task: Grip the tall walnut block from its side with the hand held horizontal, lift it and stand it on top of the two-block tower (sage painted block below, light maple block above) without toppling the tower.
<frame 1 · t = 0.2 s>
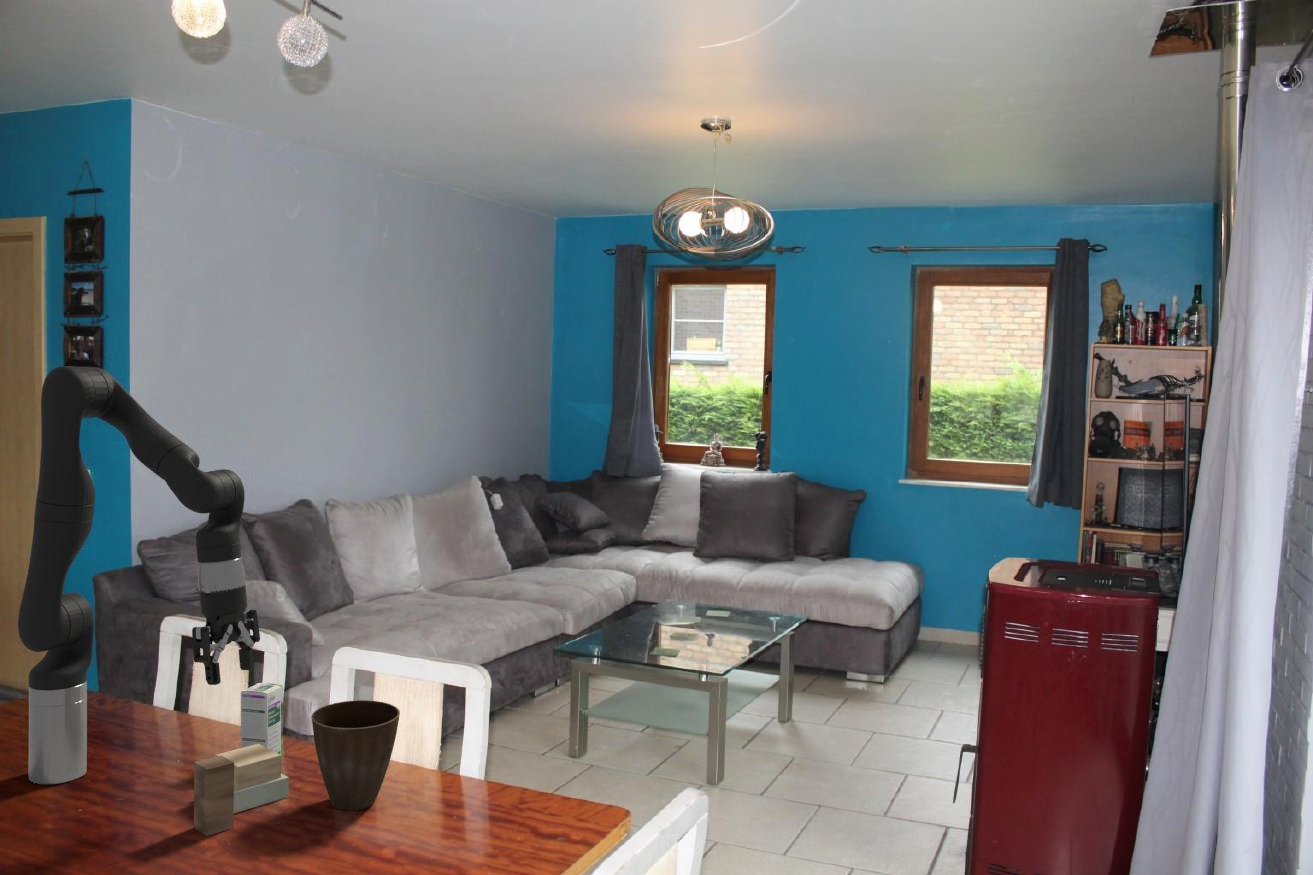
hand: (230, 676, 180), 22 cm above the table, tool pointing down, fingers open, 8 cm apart
tower top: (248, 776, 183), point 4 cm above the table, touching tower base
syrup box: (261, 761, 200), on the table
walnut block: (213, 827, 171), on the table
plant pot: (354, 803, 183), on the table
tower base: (247, 798, 183), on the table, touching tower top
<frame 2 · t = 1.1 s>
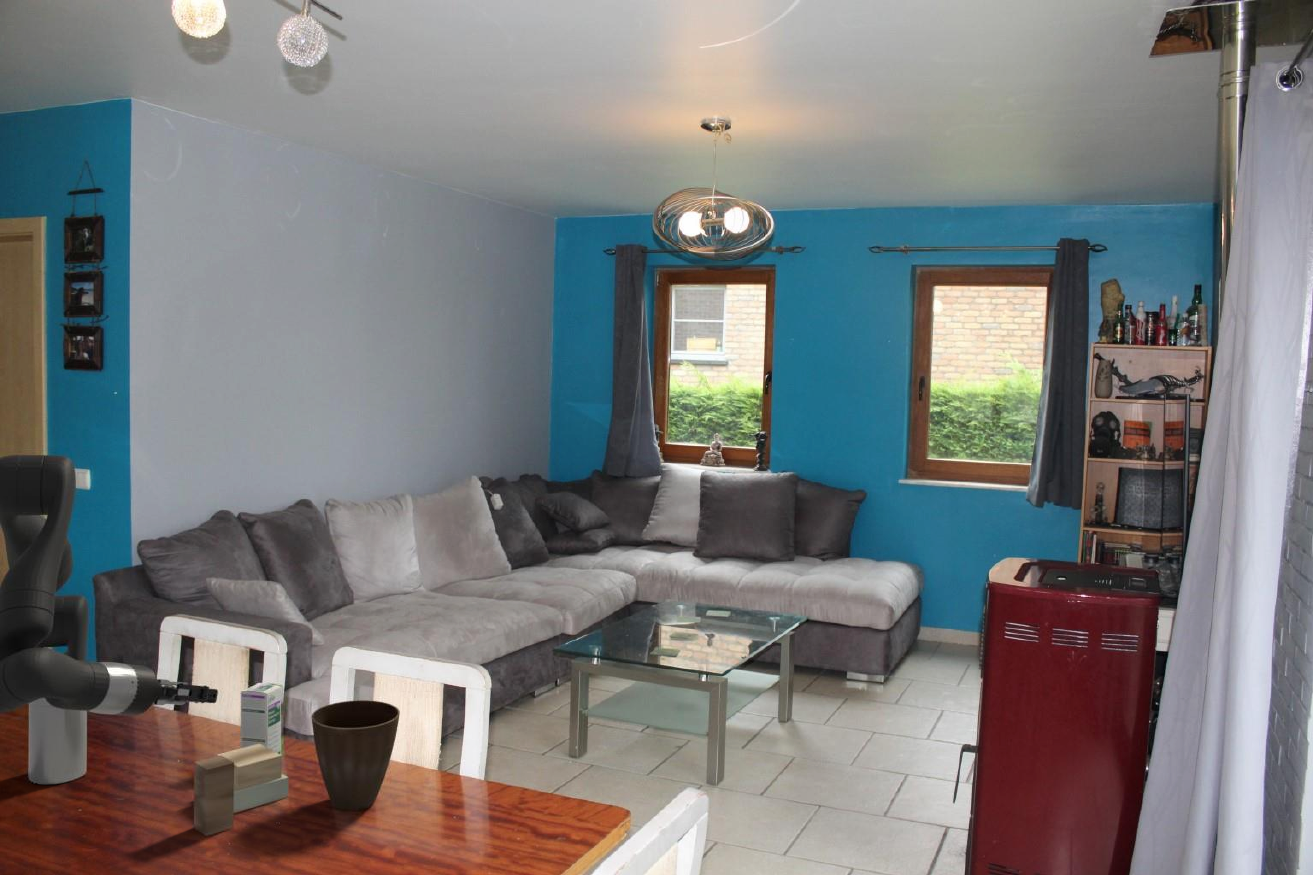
hand: (195, 695, 171), 21 cm above the table, tool tilted 70°, fingers open, 8 cm apart
tower top: (249, 776, 183), point 4 cm above the table
tower base: (247, 798, 183), on the table
everything else where it was.
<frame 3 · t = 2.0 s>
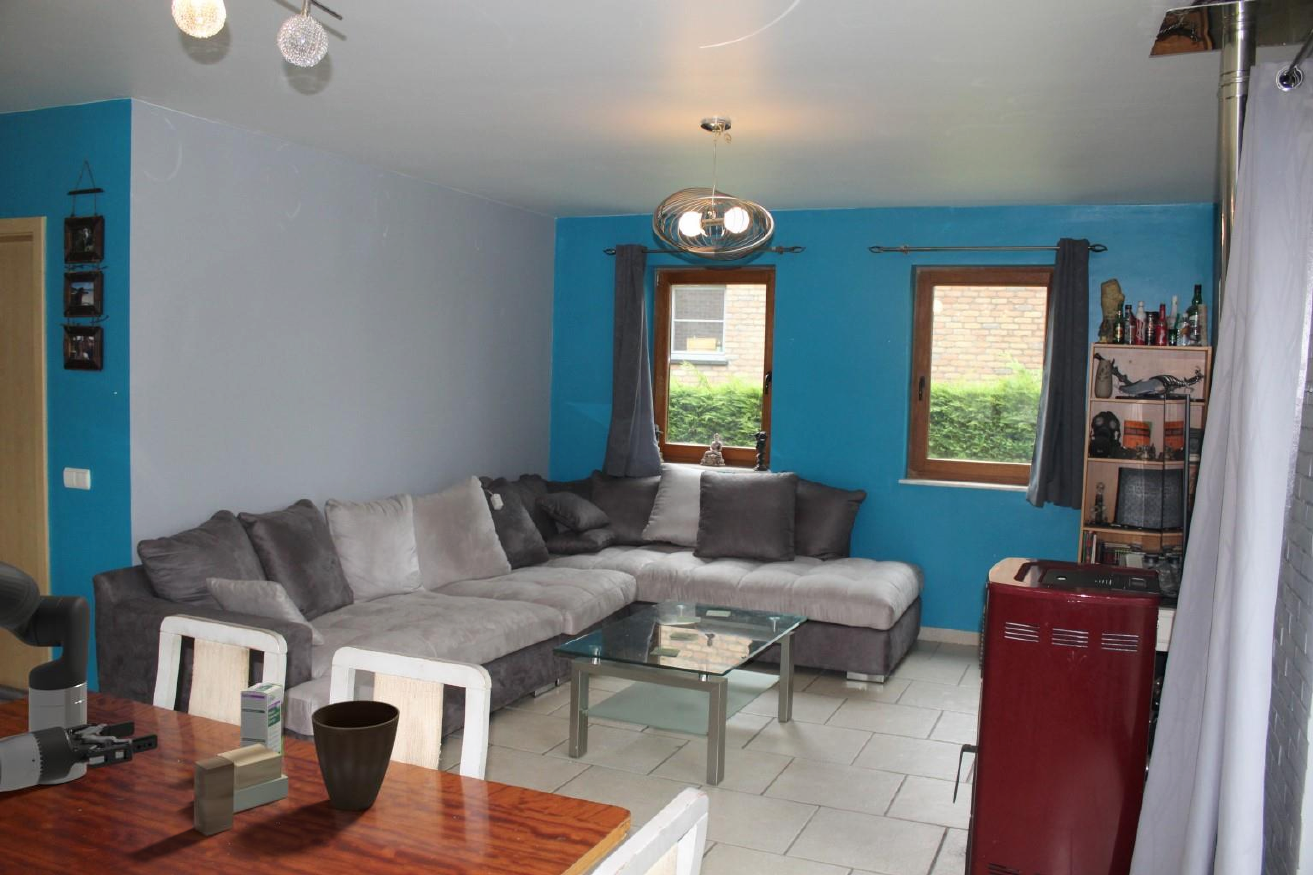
hand: (144, 733, 161), 18 cm above the table, tool horizontal, fingers open, 8 cm apart
tower top: (248, 776, 183), point 4 cm above the table, touching tower base
tower base: (247, 798, 183), on the table, touching tower top
everything else where it was.
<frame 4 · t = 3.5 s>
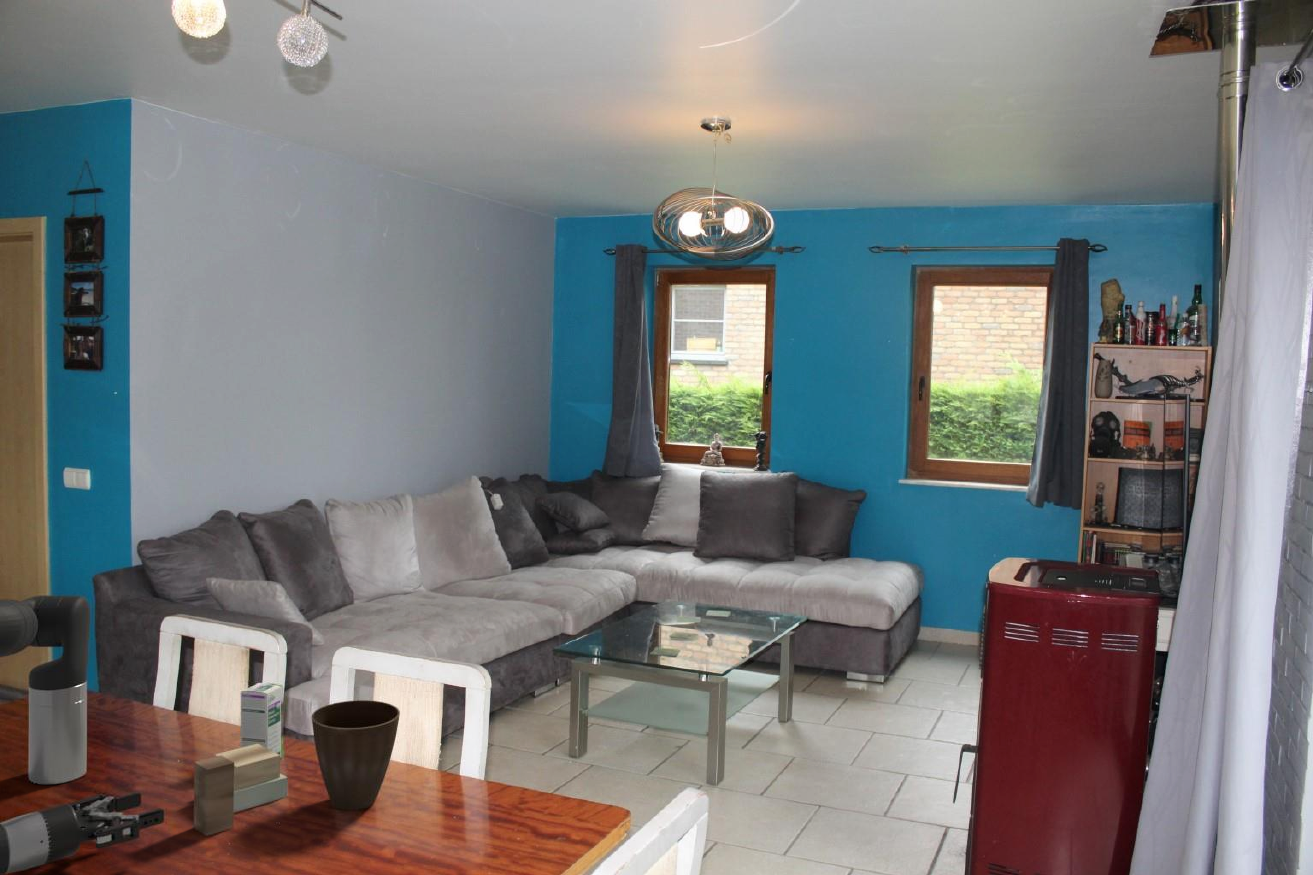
hand: (151, 806, 163), 6 cm above the table, tool horizontal, fingers open, 8 cm apart
tower top: (247, 776, 183), point 4 cm above the table
tower base: (246, 798, 183), on the table
everything else where it was.
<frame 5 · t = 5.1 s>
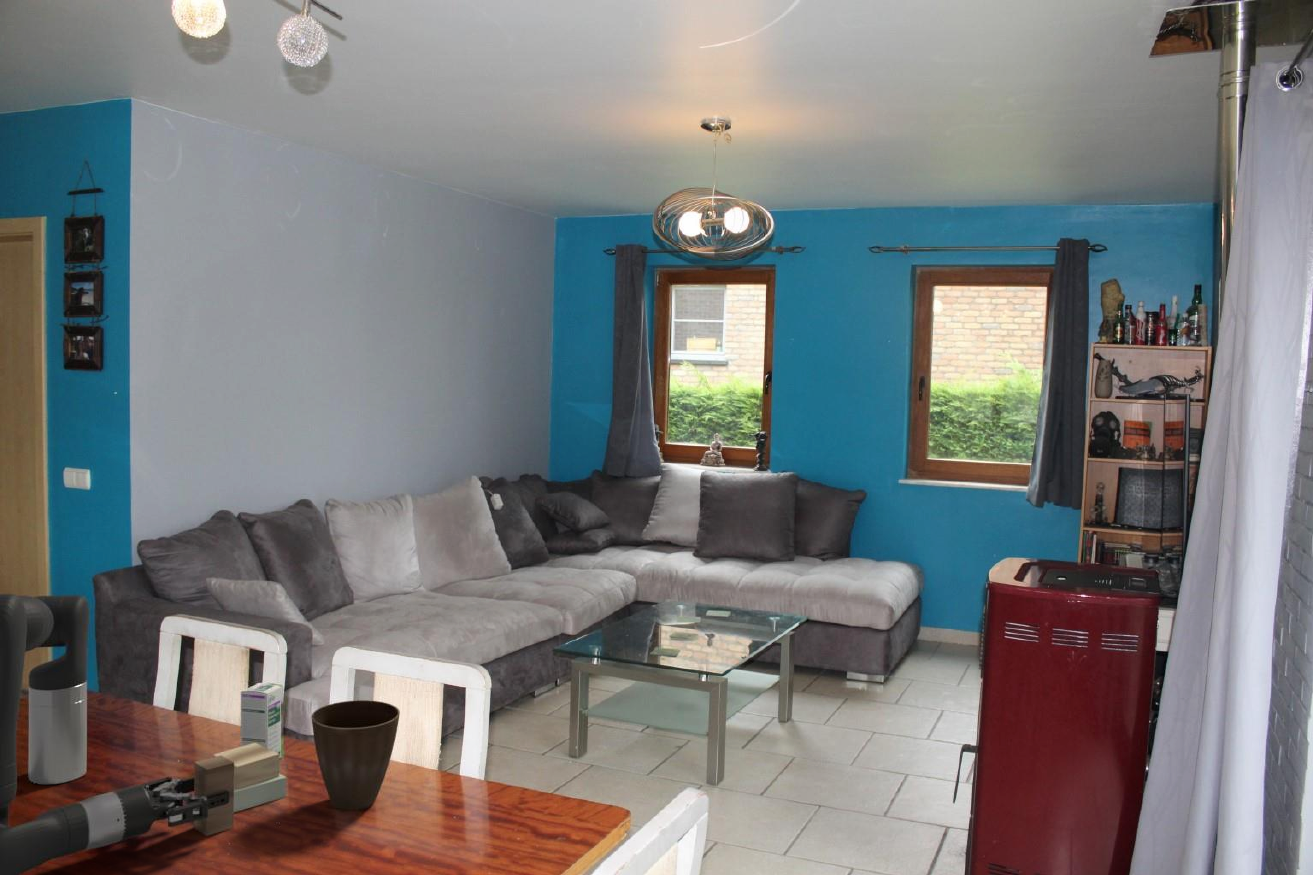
hand: (216, 788, 170), 7 cm above the table, tool horizontal, fingers open, 8 cm apart
tower top: (246, 776, 183), point 4 cm above the table, touching tower base
tower base: (245, 798, 183), on the table, touching tower top
everything else where it was.
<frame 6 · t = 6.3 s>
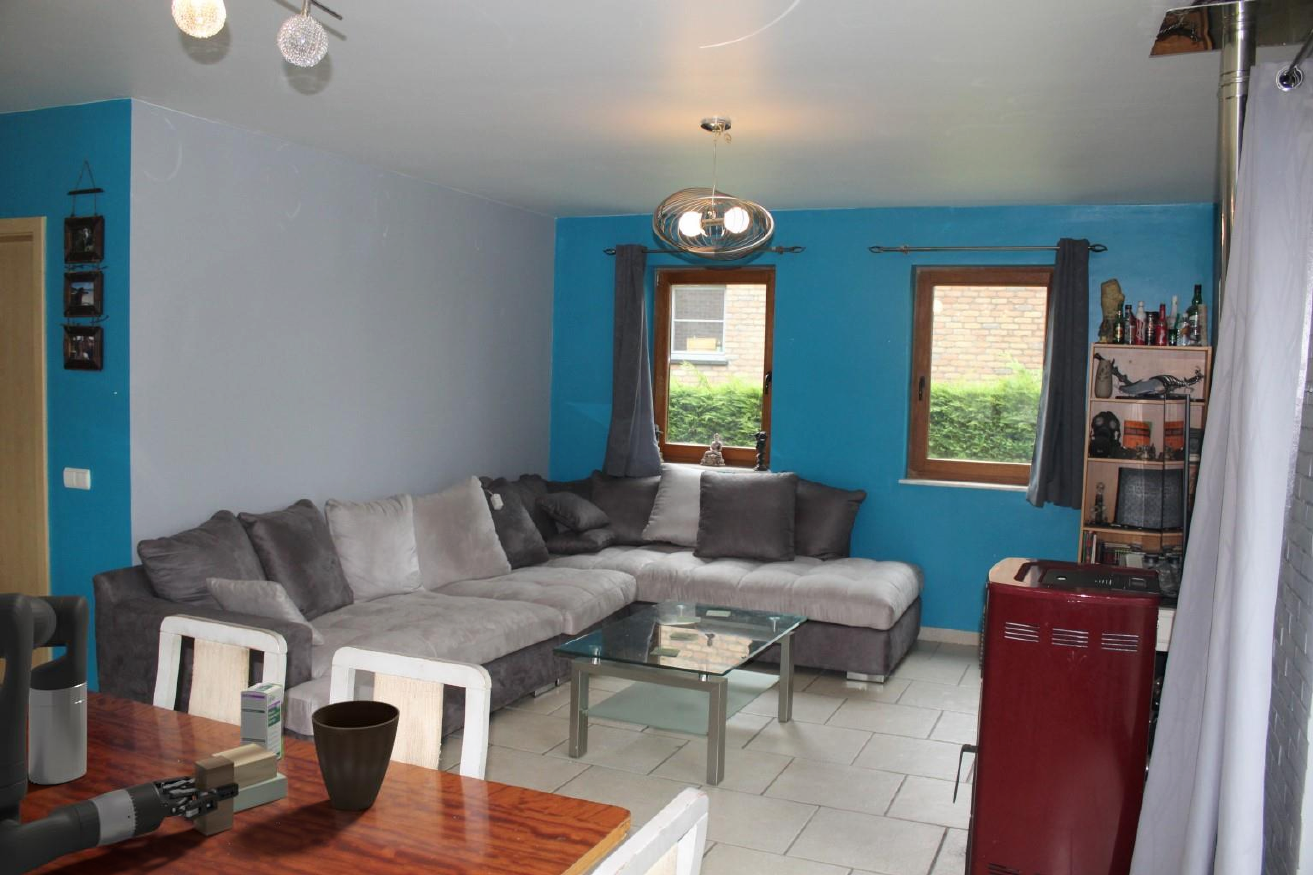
hand: (229, 784, 172), 7 cm above the table, tool horizontal, fingers closed on walnut block, 4 cm apart
walnut block: (213, 827, 171), on the table, touching gripper
everything else where it was.
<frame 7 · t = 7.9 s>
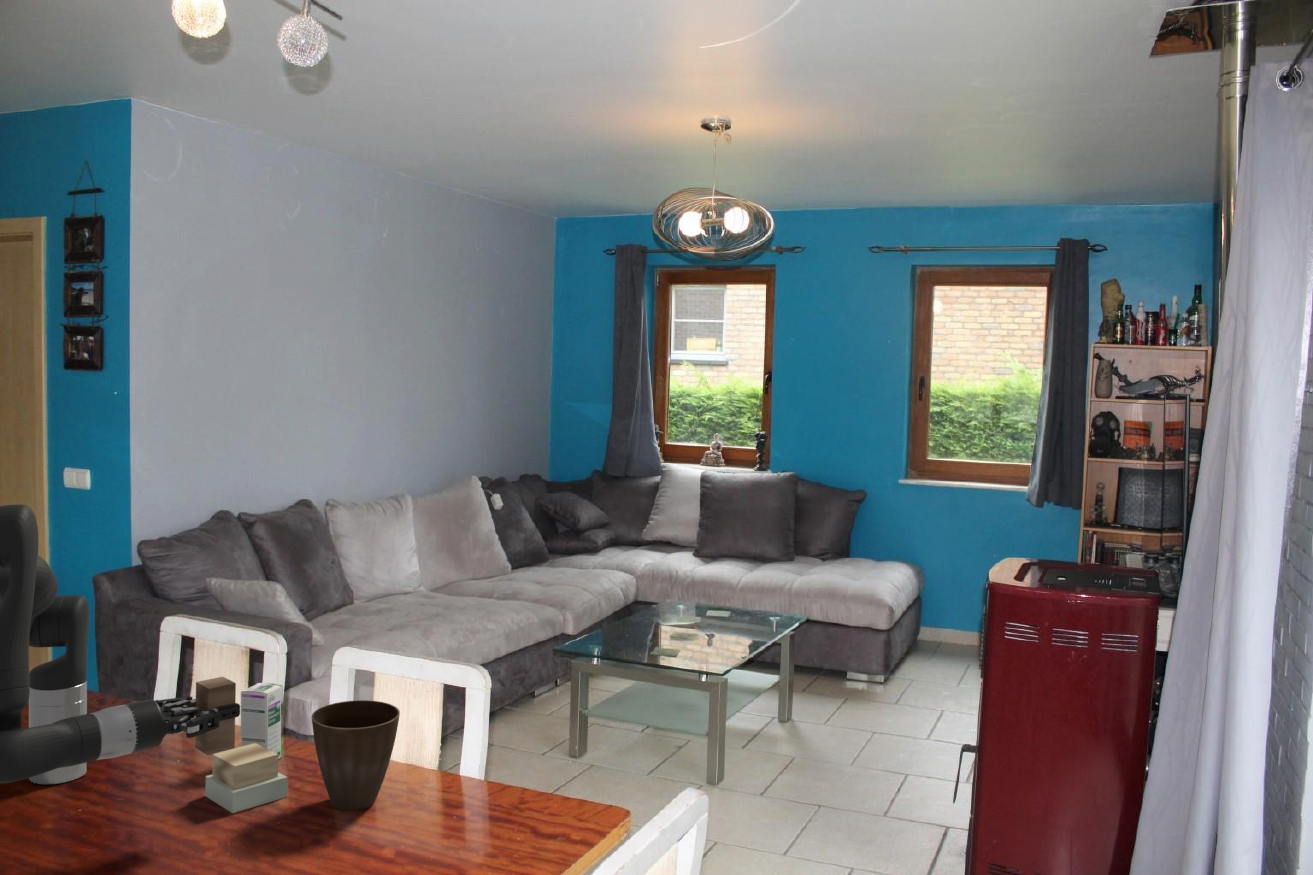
hand: (231, 705, 172), 20 cm above the table, tool horizontal, fingers closed on walnut block, 4 cm apart
walnut block: (214, 747, 170), point 13 cm above the table, touching gripper
everything else where it was.
when the fingers open (16 cm above the table, at t = 12.4 s): walnut block drops 2 cm, resting on tower top.
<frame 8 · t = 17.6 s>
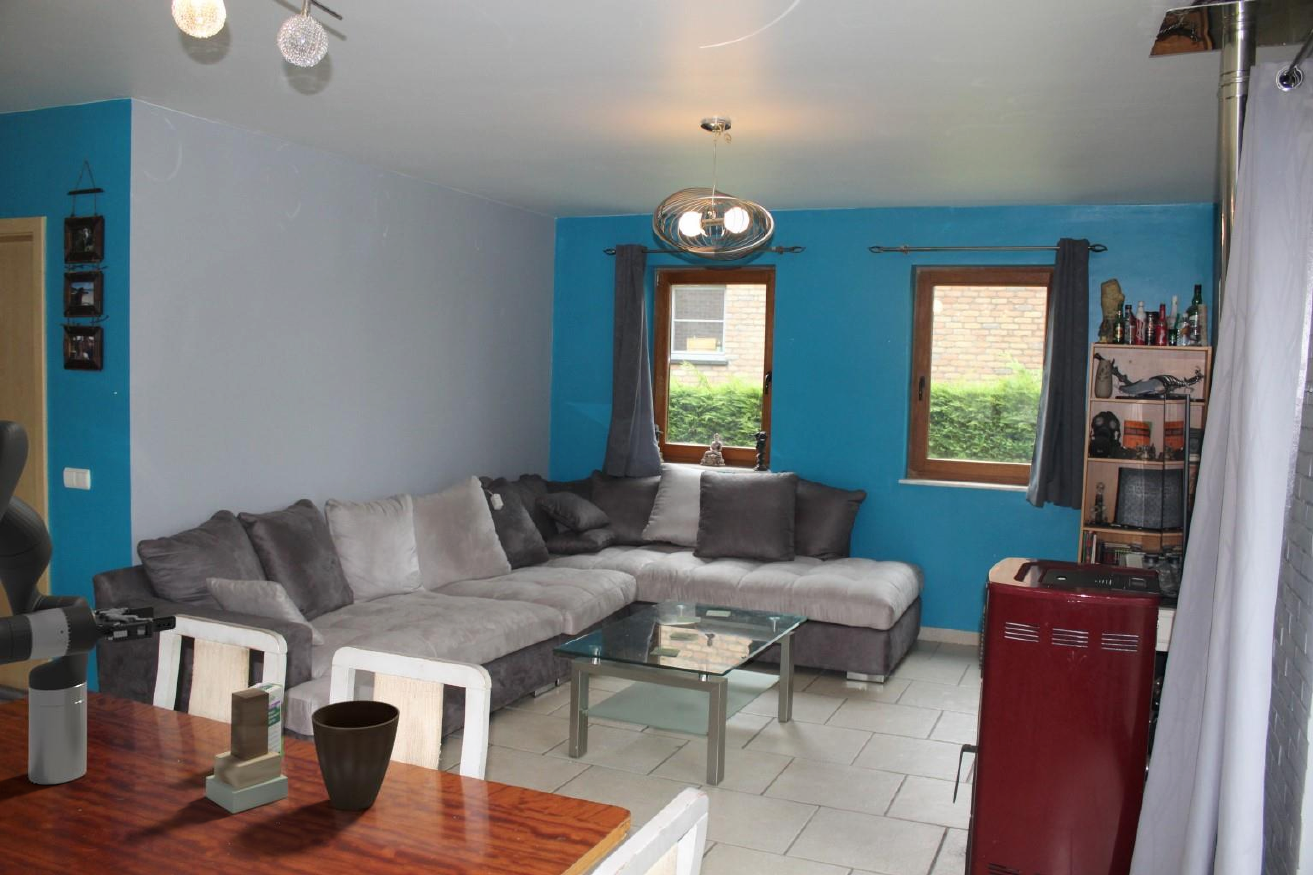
hand: (163, 616, 172), 34 cm above the table, tool horizontal, fingers open, 8 cm apart
tower top: (247, 776, 183), point 3 cm above the table, touching tower base, walnut block
walnut block: (249, 754, 183), point 7 cm above the table, touching tower top
everything else where it was.
at the end: walnut block inside the target area on the tower top (0.2 cm from its centre), point 4.1 cm above the tower top's base; walnut block tilted 2°; tower top moved 0.6 cm from its start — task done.
